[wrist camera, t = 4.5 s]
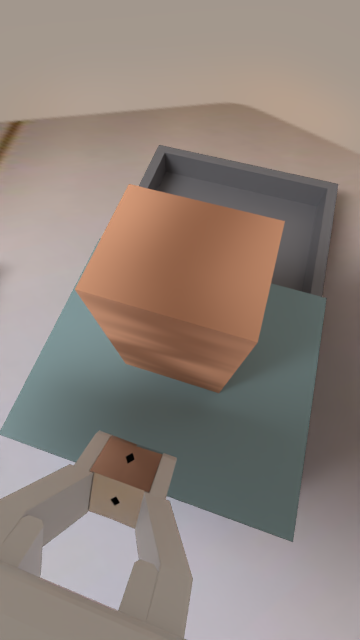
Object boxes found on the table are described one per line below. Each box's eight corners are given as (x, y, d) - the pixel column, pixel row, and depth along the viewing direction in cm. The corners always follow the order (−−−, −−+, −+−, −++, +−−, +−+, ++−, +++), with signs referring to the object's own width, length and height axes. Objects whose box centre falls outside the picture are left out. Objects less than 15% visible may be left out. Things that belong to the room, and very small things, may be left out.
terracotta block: (125, 363, 15) (74, 289, 8) (151, 298, 17) (128, 184, 9) (218, 393, 15) (257, 342, 7) (237, 322, 16) (284, 221, 9)
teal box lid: (50, 437, 20) (-2, 434, 14) (118, 285, 24) (100, 237, 18) (257, 511, 18) (292, 541, 12) (290, 334, 22) (326, 298, 17)
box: (109, 277, 24) (102, 259, 22) (160, 168, 29) (159, 144, 27) (304, 332, 22) (318, 319, 20) (324, 206, 27) (338, 184, 25)
